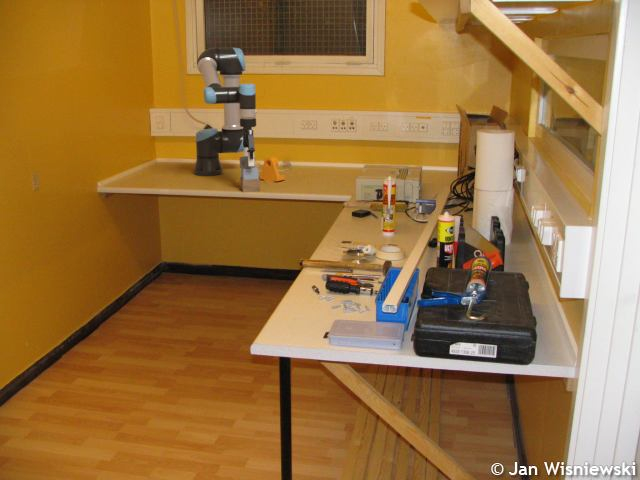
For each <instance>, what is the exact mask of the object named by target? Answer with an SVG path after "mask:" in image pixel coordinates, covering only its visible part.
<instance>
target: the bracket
mask: <svg viewBox="0 0 640 480" xmlns="http://www.w3.org/2000/svg"><path fill="white" fill-rule="evenodd" d="M278 166H279V160H278V158H277V157H276V156H272V157H268V158H265V159H264V162H263V165H262V168H261V171H260V175H259V177H260V178H259V179H260V180H264V182H268V183H276V182H280V181H284V180H286V176H285V174H280V173H279V170H278Z"/></svg>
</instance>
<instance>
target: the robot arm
mask: <svg viewBox="0 0 640 480" xmlns="http://www.w3.org/2000/svg"><path fill="white" fill-rule="evenodd" d="M196 66H197V70H198V72H199V73H200V74H201V76H202V79H203V82H204V88H203V100H204V103H205V104H209V105H221V104H223V121H224V122H223V126H221V130H220V131H219V129H218V128H214V127H212V128H206V129H202V130H201V129H200V130H198V131H197V132H196V133H195V147H196V161H195V164H194V168H193V172H194V173H193V174H194V175H195V176H203V177H204V176H205V177H207V176H210V177H211V176H217V175H218V176H219V175H222V174H223V166H222V163H221V160H220V158H219V157H220V154H231V153H232V154H233V153H235V154H237V153H243V157H244V156H248V166H254V157H255V151H256V148H255V137H254V136H255V135H254V130H253V128H254V127H256V126H257V118H256V117H257V114H256V113H258V110H257V109H256V108H257V107H256V106H257V103H256V100H257V99H256V98H257V97H256V96H257V95H256V93H257V92H256V85H255V84H254V83H240V82H241V81H240V78H241V77H242V76H243V72H245V71H246V59H245V55H244V52H243V50H242V49H241V48H239V47H210V48H207V49H205V50H204V51H202V52H201V53H200V55H199V56H198V58H197V61H196ZM218 72H219V74H218ZM219 75H220V77H221V78H222V82H221V79H220V77H219Z"/></svg>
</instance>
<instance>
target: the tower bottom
mask: <svg viewBox="0 0 640 480" xmlns="http://www.w3.org/2000/svg"><path fill="white" fill-rule="evenodd" d="M239 178H240V179H239V181H240V190H241V192H243V193H253V192H261V181H260V180H261V179H260V178H259V179H247V180H244V179H243V178H242V177H241V176H240V177H239Z"/></svg>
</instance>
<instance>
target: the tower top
mask: <svg viewBox="0 0 640 480" xmlns="http://www.w3.org/2000/svg"><path fill="white" fill-rule="evenodd" d="M240 174H241V175H240V177H242V178H243V179H244V180H247V179H260V178H259V177H260V176H259V168H258V167H257V165H255V168H250V169H244V168H240Z"/></svg>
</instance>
